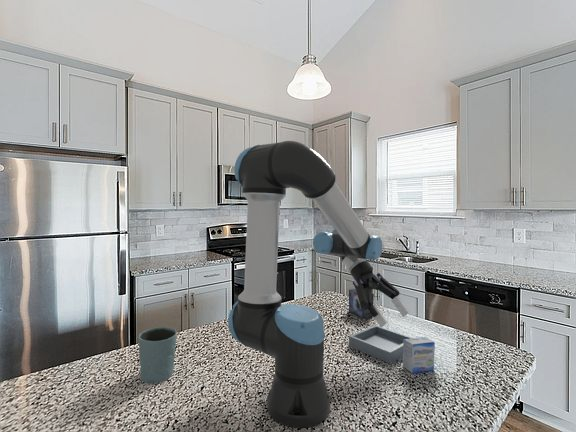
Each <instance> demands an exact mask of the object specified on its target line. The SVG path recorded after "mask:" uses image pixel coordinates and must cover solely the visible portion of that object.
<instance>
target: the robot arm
mask: <svg viewBox="0 0 576 432" xmlns="http://www.w3.org/2000/svg"><path fill="white" fill-rule="evenodd" d="M233 172H234V177H235V180H236V181H237V184H238V185H239V186H240V187H241V188H242V196H243V198H245V199H246V202H247V212H246V213H247V215H246V217H247V218H246V237H245V258H244V259H245V261H244V266H245V267H244V285H243V288H244V289H243V291H242V292H241V293H240V294H239V295H238V296H237V301H235V303H234V304H233V305H232V309H230V310H229V314H228V319H227V320H228V321H227V322H228V323H227V324H228V330H229V333H230V334H231V336H232V338H233V339H234V340H235V341H236V342H238V343H240V344H242V345H243V346H244V347H246V348H250V349H253V350H256V351H258V352H259V353H262V354H265V355H268V356H270V357H272V358H274V376H273V380H272V383H271V386H270V389H269V391H268V394H267V400H266V401H267V411H268V415H269V416H270V417H271V418H272V419H273V420H275V421H276V422H278V423H280V424H281V425H283V426H286V427H291V428H298V429H299V428H309V427H313V426H316V425H319V424H320V423H322V422H324V421H325V420H326V419H327V418H328V416H329V414H330V411H331V398H330V395H329V392H328V389H327V383H326V382H325V379H324V353H325V351H324V348H325V347H324V346H325V337H326V336H325V328H324V320H323V317H322V315H321V314H320V312H318V311H317V310H315V309H314V308H312V307H310V306H308V305H307V306H306V305H303V304H296V303H289V304H282V296H281V295H280V293H278V292H277V280H278V279H277V277H278V275H277V274H278V258H279V257H278V256H279V255H278V253H279V251H278V250H279V229H280V226H279V225H280V207H281V206H280V205H281V204H280V203H281V202H282V201H283V200H284V199H285V198H286V196H287V189H289V188H290V189H295V190H297V191H300V192H301V193H302V195H303V196H304V197H305V198H307V199H309V200H312V201H313V202H314V204H315V205H316V207H317V208H318V209H319V210H320V212H321V213H322V214H323V216H324V217H325V218H326V219H327V221H328V222H329V224H330V225H331V226H332V228H333V229H334V230H331V232H330V231H319V232H318V233H316V234H315V235H314V236H313V239H312V246H313V249H314V250H315V252H317V253H318V254H322V255H332V256H338V257H339V258H340V260H341V262H342V263H343V264H344V265H345V267H346V269H347V270H348V271H349V273H350V275H351V276H352V278H353V279H354V281H353V282H352V285H353V286H354V289H356V292H357V295H358V299H359V303H360V306H361V308H364V309H365V310H367V309H368V310H369V311H370V313H371V314H372V316H373V317H372V318H374V319H375V321H376V322H377V324H378V326H380V327H383V328H384V326H385V325H386V324H387V323H388V321H387V319H386V318H385V316H384V315H383V314H382V312H381V311H380V309H379V308H378V305H376V303H375V304H374V301H373V302H372V293H373V292H372V290H376V291H379V292H381V293H382V294H383V295H385V296H386V297H388V298H390V299H391V301H390V302H391V303H392V304H393V305H394V307H395V308H396V310H397V311H398V313H399V314H400V315H401V317H402V318H404V317H406V316H407V315H408V314H410V312H411V311H409V310H408V309H407V306H406V305H405V304H404V303H403V301H402V300H401V298H400V297H399V296H400V291H399V290H398V289H397V288H396V287H395V286H393V284H391V283H390V282H389V281H388V280H387V279H385V278H384V276H383V275H382V274H381V273H380V272H377V273H376V274H374V273H373V270H374V268H373V266H372V265H371V264H370V262H369V261H368V260H376V261H377V260H378V259H379V258H380V257H381V255H382V252H383V244H384V243H383V241H382V238H381V237H380V236H377V235H374V234H373V235H370V234H369V233H368V231H367V230H366V227H365V226H364V224H363V223H362V221H361V220H360V218H359V217H358V215H357V214H356V212H355V211H354V209H353V208H352V206H351V204H350V203H349V201H348V199H347V198H346V197H345V195H344V194H343V191H342V190H341V189H340V187H339V185H338V184H337V176H336V173H335V171H334V170H333V168H332V167H331V165H330V164H329V163H328V162H327V161H326V160H325V159H324V158H323V157H322V156H321V154H319V153H318V152H317V151H315V150H314V149H312V148H311V147H309V146H308V145H306V144H305V143H302V142H298V141H295V140H284V141H281V142H274V143H272V142H271V143H264V144H257V145H254V146H251V147H247V148H246V149H245V148H244V150H242V152H240V153H239V154H238V156H237V158H236V160H235V163H234V171H233ZM363 302H364V303H363Z"/></svg>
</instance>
